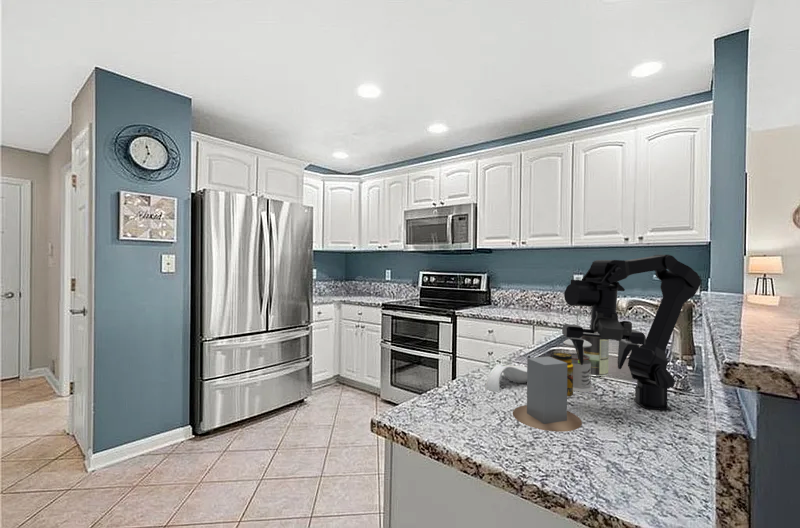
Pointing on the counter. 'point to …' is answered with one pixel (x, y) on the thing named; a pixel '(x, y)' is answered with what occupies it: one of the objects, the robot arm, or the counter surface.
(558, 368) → the grey tall block
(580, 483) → the counter surface
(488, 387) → the white curved piece
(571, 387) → the condiment
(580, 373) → the french press
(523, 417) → the plate
